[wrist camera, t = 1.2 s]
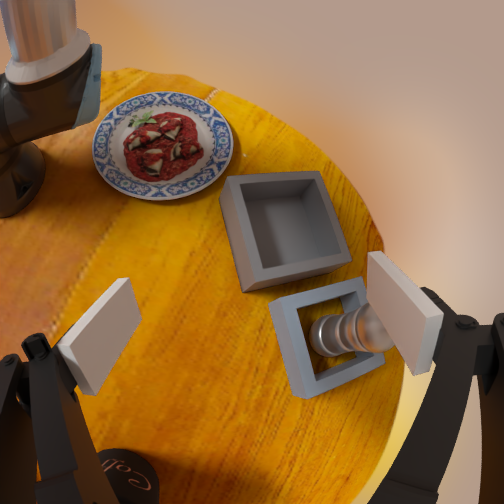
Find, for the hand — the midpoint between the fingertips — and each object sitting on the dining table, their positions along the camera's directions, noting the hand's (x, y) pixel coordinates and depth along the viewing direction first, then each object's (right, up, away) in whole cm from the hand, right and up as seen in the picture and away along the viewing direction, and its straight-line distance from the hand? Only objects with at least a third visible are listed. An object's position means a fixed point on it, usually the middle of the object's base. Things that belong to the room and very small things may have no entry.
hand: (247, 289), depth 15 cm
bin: (+4, +5, +34) cm, 34 cm away
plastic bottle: (+12, -12, +30) cm, 35 cm away
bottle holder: (+12, -12, +30) cm, 34 cm away
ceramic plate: (-16, +21, +34) cm, 44 cm away
